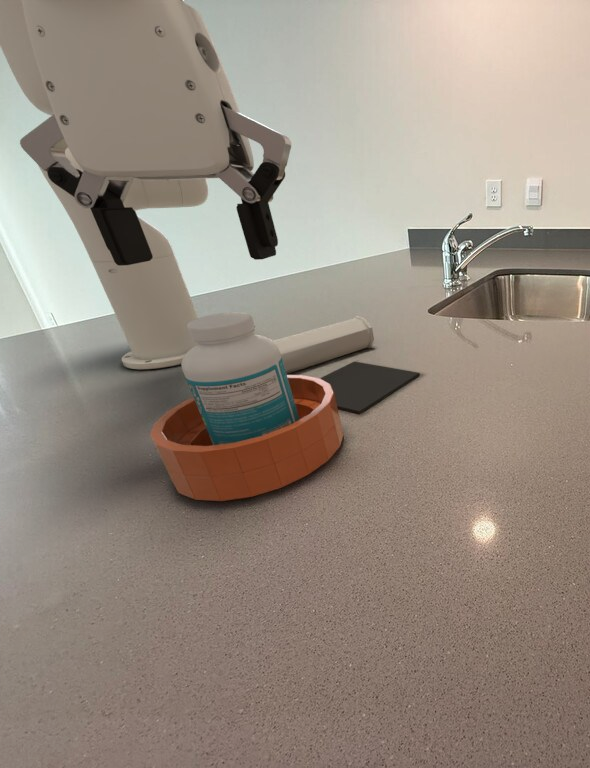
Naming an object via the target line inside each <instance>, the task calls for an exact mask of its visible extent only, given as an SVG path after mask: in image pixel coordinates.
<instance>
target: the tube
mask: <svg viewBox="0 0 590 768" xmlns="http://www.w3.org/2000/svg"><path fill="white" fill-rule="evenodd" d="M374 340H375V336H374V330H373V327H372V325H371V324H370V323H369V321H368V320H367V319H366V318H365V317H362V316H359V315H356V316H354V317H353V318H351V319H346V320H343V321H340V322H336V323H333V324H328V325H325V326H321V327H317V328H314V329H310V330H306V331H302V332H299V333H297V334H295V333H294V334H291V335H288V336H284V337H281V338H277V339H272V341H274V342H275V343H276V345H277V346H278V348H279V350H280V354H281V357H282V360H283V364H284V367H285V371H286V374H287V375H290V374H291V373H294V372H295V373H296V372H297V371H300V370H304V369H306V368H310V367H312V366H316V365H318V364H322V363H324V362H328V361H330V360H334V359H337V358H339V357H343V356H346V355H349V354H351V353H354V352H358V351H361V350H364V349H371V348H373V344H374Z"/></svg>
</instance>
